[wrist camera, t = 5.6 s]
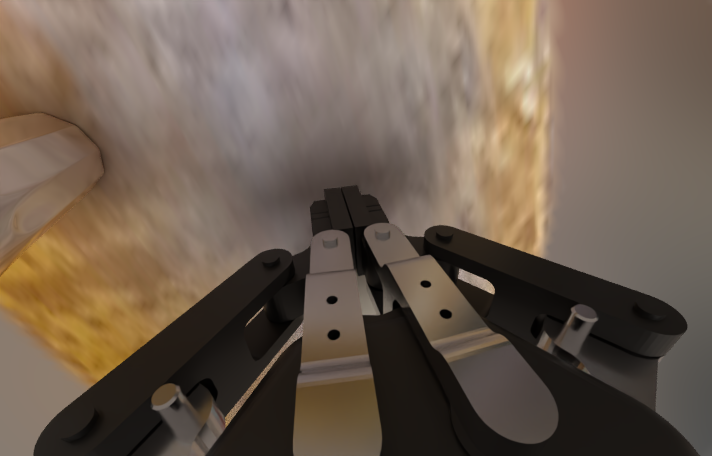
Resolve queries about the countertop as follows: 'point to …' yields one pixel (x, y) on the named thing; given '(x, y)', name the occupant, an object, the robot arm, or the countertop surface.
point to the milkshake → (40, 178)
